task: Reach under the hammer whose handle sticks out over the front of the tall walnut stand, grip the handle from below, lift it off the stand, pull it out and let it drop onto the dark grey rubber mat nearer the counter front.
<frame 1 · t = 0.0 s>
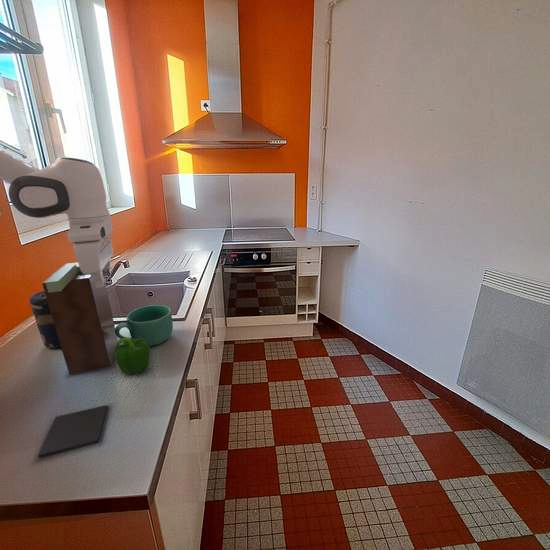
hand: (104, 280, 78), 24 cm above the worktop, tool pointing down, fingers open, 8 cm apart
stand: (95, 356, 88), on the worktop
mat: (76, 429, 63), on the worktop
bell pepper: (136, 369, 82), on the worktop
mug: (147, 342, 95), on the worktop
hammer: (70, 275, 77), point 26 cm above the worktop, touching stand
canister: (62, 342, 96), on the worktop
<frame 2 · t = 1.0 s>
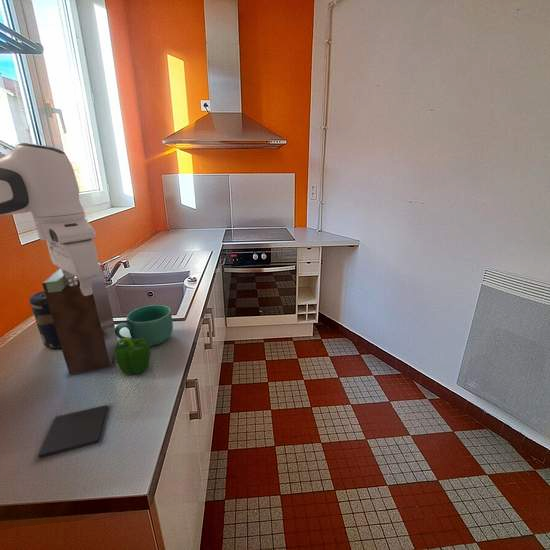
hand: (79, 289, 67), 26 cm above the worktop, tool pointing down, fingers open, 8 cm apart
hammer: (70, 275, 77), point 26 cm above the worktop, touching gripper, stand
everything else where it was.
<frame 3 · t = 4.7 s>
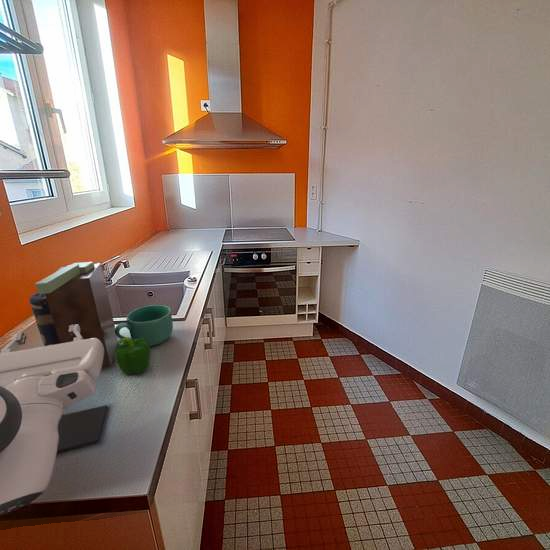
hand: (48, 330, 61), 21 cm above the worktop, tool pointing upward, fingers open, 8 cm apart
hammer: (72, 275, 77), point 26 cm above the worktop, touching stand
everything else where it was.
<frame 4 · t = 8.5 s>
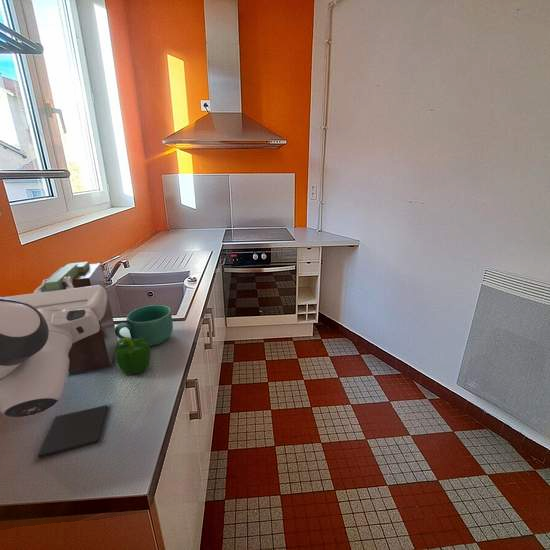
hand: (58, 279, 69), 28 cm above the worktop, tool pointing upward, fingers closed on hammer, 2 cm apart
hammer: (71, 275, 77), point 26 cm above the worktop, touching gripper, stand
everything else where it was.
when the fingers open (16 cm above the worktop, at t = 17.3 s): hammer drops 14 cm, resting on mat.
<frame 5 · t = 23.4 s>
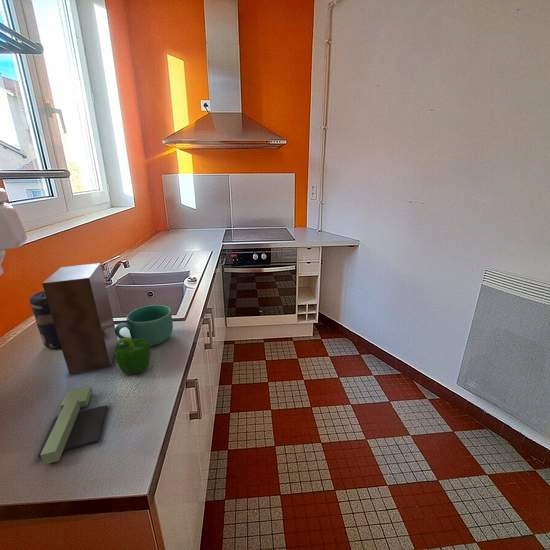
hammer: (71, 415, 66), point 1 cm above the worktop, touching mat
everything else where it was.
at the end: hammer inside the target area on the mat (4.6 cm from its centre), point 0.6 cm above the mat's base; hammer touching mat; the gripper is holding nothing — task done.
